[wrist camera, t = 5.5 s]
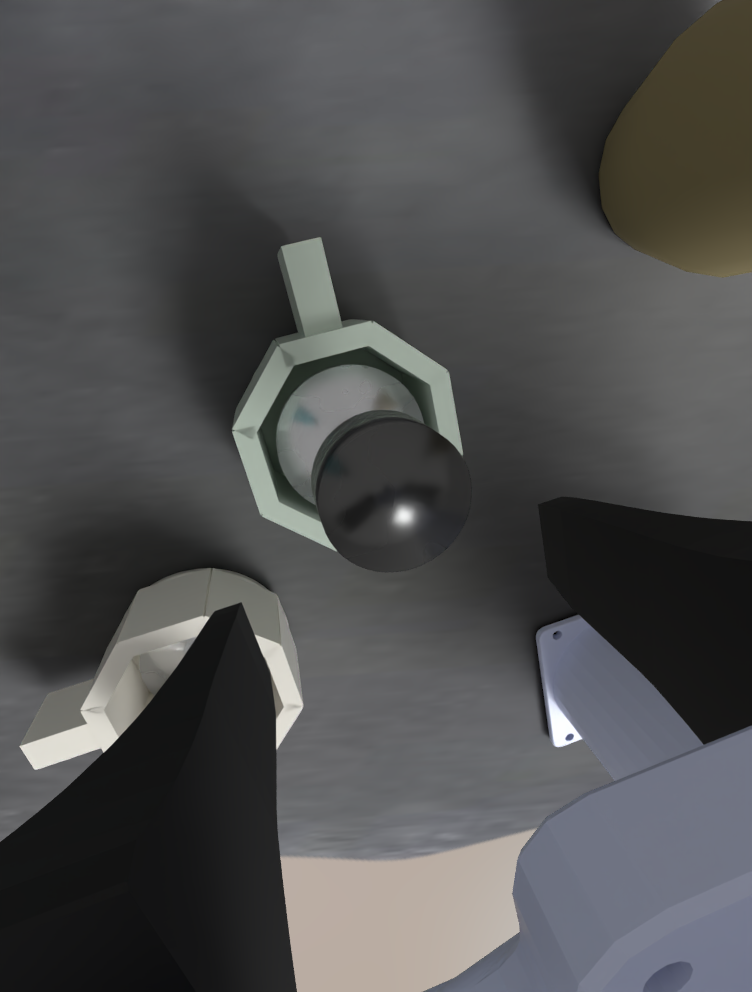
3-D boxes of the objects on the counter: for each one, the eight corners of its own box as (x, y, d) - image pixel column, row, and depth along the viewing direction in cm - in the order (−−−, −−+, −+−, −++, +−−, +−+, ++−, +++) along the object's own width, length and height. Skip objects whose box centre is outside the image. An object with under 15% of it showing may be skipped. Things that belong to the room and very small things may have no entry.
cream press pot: (262, 546, 22) (263, 596, 18) (308, 678, 25) (318, 746, 21) (22, 619, 21) (-29, 688, 17) (98, 749, 24) (68, 835, 20)
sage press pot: (435, 476, 23) (472, 510, 19) (274, 524, 22) (279, 570, 18) (387, 231, 19) (420, 211, 15) (192, 277, 18) (176, 269, 15)
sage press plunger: (404, 346, 17) (482, 365, 11) (432, 484, 19) (511, 562, 13) (256, 386, 17) (257, 426, 11) (299, 524, 19) (321, 624, 13)
